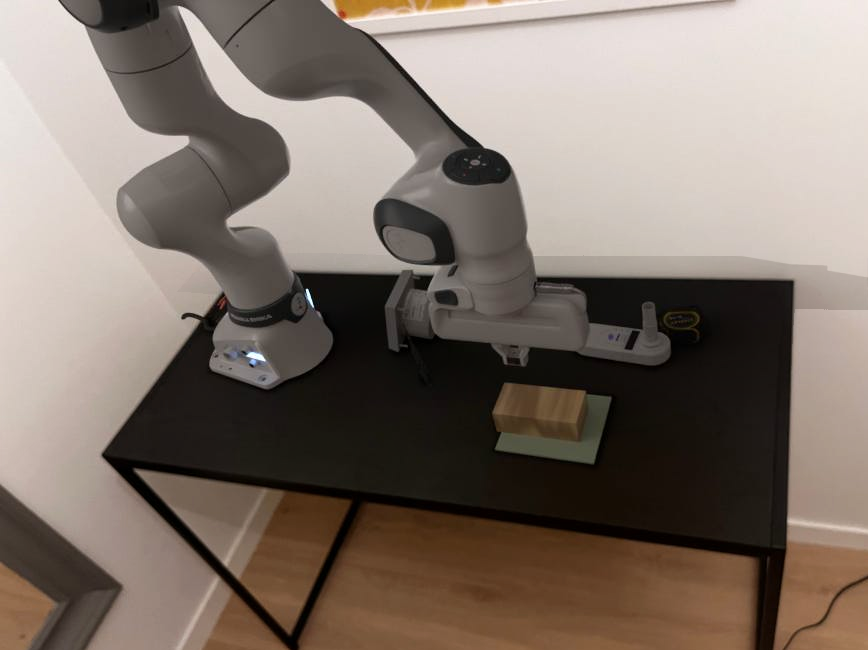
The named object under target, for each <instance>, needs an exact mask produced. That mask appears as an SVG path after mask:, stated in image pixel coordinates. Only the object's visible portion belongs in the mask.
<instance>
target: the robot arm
mask: <svg viewBox="0 0 868 650" xmlns="http://www.w3.org/2000/svg"><path fill="white" fill-rule="evenodd" d="M57 1H58V3H59V4H60V5H61V6H62V8H64V10H66V11H67V13H68V14H69V15H70V16H72V18H73V19H75V20H76V21H77V22H79V23H80V24H81V25H83V26H84V28H85V30H86V33H87V35H88V39H89V41H90V42H91V45H92V47H93V50H94V52H95V54H96V56H97V58H98V60H99V62H100V64H101V66H102V68H103V71H105V73H106V75H107V78H108V79H109V81H110V83H111V85H112V87H113V89H114V91H115V94H117V97H118V98H119V101H120V102H121V105H122V106H123V109H124V110H125V112H126V114H127V116H128V117H129V119H130V120H131V121H132V122H133V123H134V124H135V125H136V126H137V127H138V128H141V129H142V130H144V131H146V132H148V133H151V134H154V135H160V136H166V137H188V143H187V145H185V146H183V148H181V149H179V150H177V151H175V152H172V153H171V154H169V155H167V156H165V157H163V158H161V159H160V160H157V161H155V162H152V163H151V164H149V165H147V166H146V167H143V168H142V169H141V170H139V171H138V172H137V173H136V174H134V175H133V176H132V177H130V179H128V180H127V181H126V182H125V183H123V185H122V186H121V187H119V189H117V193H116V200H115V201H116V202H115V203H116V212H117V215H118V218H119V220H120V222H121V224H122V225H123V228H124V229H125V230H126V231H127V233H128V234H129V235H130V236H131V237H133V238H134V239H135V240H137V242H139V243H141V244H143V245H145V246H147V247H150V248H153V249H156V250H165V251H166V250H167V251H174V252H178V253H182V254H185V255H187V256H190V257H192V258H193V259H195V260H197V261H198V262H200V263H201V264H202V265H203V266H204V267H205V268H206V269H207V270H208V271H209V272H210V274H211V275H212V276H213V278H214V279H215V282H216V283H217V285H218V286H219V287H220V289H221V290H222V292H223V293H224V296H223V297H222V298H221V299H220V301H219V302H218V304H217V306H220V307H219V310H223V308H225V306H227V307H226V308H227V311H226V312H225V313H224V314H222V315H221V316H219V317H218V319H216V321H215V322H216V324H217V325H216V326H210V322H209V320H208V319H207V318H206V317H204V316H202V315H200V314H197V313H194V312H184V313H182V315H181V318H180V319H181V321H182V320H183V321H184V320H186V319H187V318H192V319H194V320H198V321H200V322H201V323H203V328H204V330H205V331H208V332H211V333H213V334H212V343H213V346H214V350H213V352H212V354H211V355H210V359H209V365H208V366H209V368H210V370H211V371H212V372H214V373H217V374H220V375H222V376H225V377H229V378H232V379H234V380H238V381H240V382H243V383H246V384H249V385H252V386H254V387H255V386H256V387H258V388H261V389H264V390H271V389H273V388H275V387H277V386H278V385H280V384H282V383H283V382H285V381H287V380H289V379H293V378H295V377H298V376H301V375H303V374H305V373H307V372H309V371H311V370H313V369H314V368H315V367H317V366H318V365H319V364H320V363H322V361H324V359H325V358H326V357H327V356H328V354H329V353H330V351H331V349H332V347H333V343H334V336H333V333H332V331H331V329H330V328H329V327H328V326H327V325H326V324H325V322H324V317H323V315H322V314H321V312H320V311H318V310H316V309H315V306H314V304H313V300H312V298H311V294H310V292H309V289H308V288H306V289H304V287H303V284H302V283H301V279H300V277H299V276H298V274H297V273H296V271H295V270H294V269H292V268H291V265H290V264H289V261H288V259H287V257H286V255H285V252H284V250H283V248H282V246H281V244H280V242H279V240H278V238H277V237H276V236H275V235H274V234H273V233H271V232H270V231H269V230H267V229H266V228H262V227H259V226H254V225H252V226H251V225H238V226H229V225H228V223H227V222H228V219H230V218H231V217H232V216H233V215H235V214H236V213H238V212H240V211H242V210H243V209H245V208H247V207H249V206H251V205H252V204H254V203H256V202H258V201H259V200H261V199H263V198H264V197H266V196H267V195H269V194H270V193H271V192H272V191H273V190H274V189H276V188H277V187H278V186H279V185H280V184H281V183H282V182H283V181H285V179H287V178H288V176H289V175H290V172H291V166H292V165H291V163H292V161H291V154H290V150H289V147H288V144H287V142H286V140H285V138H283V137H284V136H282V135H281V133H280V132H279V131H278V130H277V129H276V128H275V127H273V126H272V125H271V124H270V123H268V122H266V121H264V120H262V119H259V118H255V117H249V116H247V115H244V114H242V113H240V112H238V111H236V110H235V109H233V108H232V107H230V106H229V104H227V103H226V102H225V101H224V100H223V99H222V98H221V96H220V95H219V93H218V92H217V90H216V89H215V87H214V85H213V83H212V82H211V79H210V77H209V75H208V73H207V71H206V69H205V67H204V65H203V63H202V60H201V58H200V56H199V53H198V51H197V49H196V46H195V44H194V42H193V39H192V37H191V34H190V31H189V29H188V27H187V25H186V23H185V20H184V18H183V16H182V14H181V12H180V8H179V7H181V8H183V9H186V10H188V11H189V12H190V13H192V14H193V15H194V16H195V18H196V19H198V21H200V23H201V25H203V28H205V29H206V31H207V33H209V35H210V36H211V37H212V39H213V40H214V41H215V42H216V43H217V45H218V47H220V48H221V50H222V51H223V53H225V55H226V56H227V57H228V58H229V59H230V61H231V63H232V64H233V65H234V66H235V67H236V69H238V71H239V72H240V73H241V74H242V75H243V76H244V77H245V79H247V81H249V82H250V83H251V85H253V86H254V87H255V88H257V89H258V90H259V91H261V92H262V93H264V94H265V95H267V96H270V97H272V98H275V99H279V100H283V101H289V102H309V101H315V100H321V99H326V98H334V97H335V98H336V97H337V98H338V97H339V98H340V97H341V98H342V97H343V98H351V99H354V100H357V101H360V102H362V103H364V104H365V105H366V106H368V107H369V108H370V109H371V110H373V112H374V113H375V114H376V115H377V116H378V117H379V118H380V119H382V121H383V122H384V123H385V124H386V125H387V126H388V127H389V128H390V129H391V130H392V131H393V132H394V133H395V134H396V135H397V136H398V137H399V138H400V139H401V140H402V141H403V142H404V143H405V144H406V145H407V147H408V148H409V149H411V151H412V153H413V155H414V160H415V161H414V163H413V164H412V165H411V166H410V167H409V168H408V170H407V171H406V172H405V173H404V174H403V175H402V176H400V177H399V178H398V179H397V180H396V181H394V183H393V184H392V185H391V186H390V187H389V188H388V189H387V190H386V192H384V194H383V195H382V196H381V197H380V199H379V200H378V201H377V202H376V204H375V205H374V207H373V212H372V220H373V226H374V230H375V234H376V235H377V237H378V239H379V241H380V242H381V244H382V246H383V247H384V248H385V249H386V251H387V252H388V253H389V254H390V255H391V256H392V257H393V258H395V259H396V260H398V261H400V262H403V263H406V264H410V265H416V266H433V267H435V266H437V267H438V266H439V268H438V269H437V270H436V272H435V274H434V275H433V277H432V279H431V281H430V283H429V286H428V288H427V290H426V291H427V297H428V299H429V301H430V302H431V303H430V305H429V316H430V321H431V325H432V328H433V331H434V333H435V335H437V337H439V338H440V339H442V340H452V341H453V340H454V341H463V342H475V343H484V344H485V343H486V344H490V345H491V348H492V349H493V350H494V351H495V352H496V353H498V354H499V356H501V357H502V361H503V365H505V366H518V367H526V366H527V364H528V362H529V352H530V349H531V348H538V349H550V350H559V351H570V352H577V351H580V350H581V349H582V348H583V347H584V346H585V345H586V343H587V340H588V337H589V332H590V325H589V323H590V321H589V315H588V312H587V311H588V299H587V294H586V293H585V292H584V291H583V290H581V289H579V288H577V287H574V285H573V284H570V283H553V282H544V281H543V282H541V281H538V278H537V272H536V267H535V259H534V254H533V250H532V247H531V245H530V243H529V241H528V238H527V235H528V228H529V223H528V217H527V211H526V206H525V201H524V197H523V192H522V189H521V185H520V182H519V179H518V177H517V174H516V171H515V169H514V167H513V166H512V164H511V163H510V161H509V160H508V159H507V158H506V157H505V156H504V155H503V154H501V153H500V152H498V151H496V150H494V149H491V148H488V147H484V146H483V145H482V144H481V143H480V142H479V141H478V140H477V139H475V137H473V136H472V135H470V134H469V133H468V132H466V131H465V130H464V129H462V128H461V127H460V126H459V125H458V124H457V123H456V122H454V121H453V120H452V119H451V118H450V117H449V116H448V115H447V114H446V113H445V112H444V111H443V110H442V108H441V107H440V106H439V105H438V104H437V103H436V102H435V100H434V99H432V97H431V96H430V95H429V94H428V93H427V92H426V90H424V89H423V88H422V87H421V85H419V83H418V82H417V81H416V80H415V79H414V77H412V75H410V73H408V71H407V70H406V69H405V68H404V67H403V66H402V65H401V64H400V62H398V60H397V59H396V58H395V57H394V56H393V55H392V54H391V53H390V52H389V51H388V50H387V49H386V48H385V47H384V46H383V45H382V44H381V43H380V42H379V41H378V40H377V39H375V38H374V37H373V36H372V35H370V34H369V33H368V32H367V31H364V30H363V29H361V28H358V27H355V26H352V25H350V24H349V23H347V22H346V21H345V20H343V19H342V18H341V17H339V16H338V15H337V14H336V13H335V12H334V11H332V9H331V8H329V7H328V6H327V5H326V4H325V3H324V2H323V1H322V0H57ZM305 291H306V292H305ZM512 346H517V347H512Z"/></svg>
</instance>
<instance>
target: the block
mask: <svg viewBox="0 0 868 650" xmlns="http://www.w3.org/2000/svg"><path fill="white" fill-rule="evenodd" d="M586 394H587V391H586V390H582V389H572V388H571V389H570V388H562V387H561V388H560V387H552V386H551V387H550V386H542V385H534V384H533V385H532V384H522V383H515V382H514V383H512V382H504V383H503V385H502V387H501V390H500V392H499V396H498V398H497V400H496V403H495V405H494V408H493V410H492V417H493V421H494V426H495V428H496V429H495V430H496V432H497V433H501V432H505V433H512V434H520V435H528V436H535V437H543V438H551V439H558V440H566V441H574V442H579V441H580V438H581V434H582V431H583V427H584V424H585V420H586V417H587V413H588V403H587V395H586Z"/></svg>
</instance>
